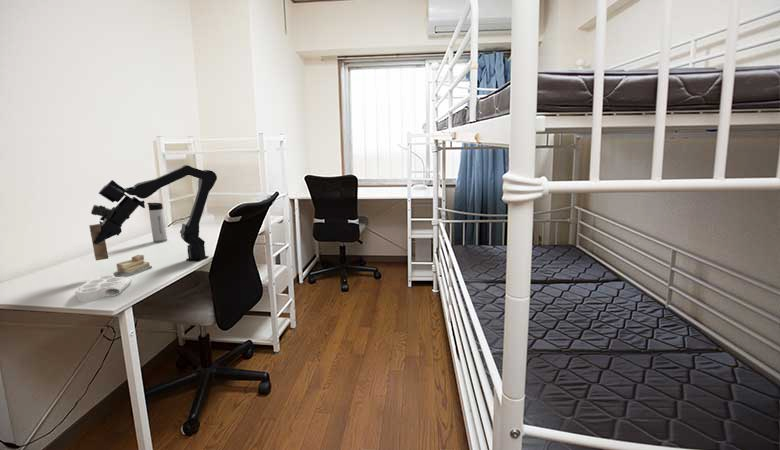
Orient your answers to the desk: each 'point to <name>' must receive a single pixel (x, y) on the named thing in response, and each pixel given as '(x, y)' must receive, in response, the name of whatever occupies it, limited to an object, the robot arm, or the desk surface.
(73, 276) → the desk surface
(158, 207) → the travel mug
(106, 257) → the walnut block
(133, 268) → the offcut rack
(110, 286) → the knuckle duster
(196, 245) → the robot arm
